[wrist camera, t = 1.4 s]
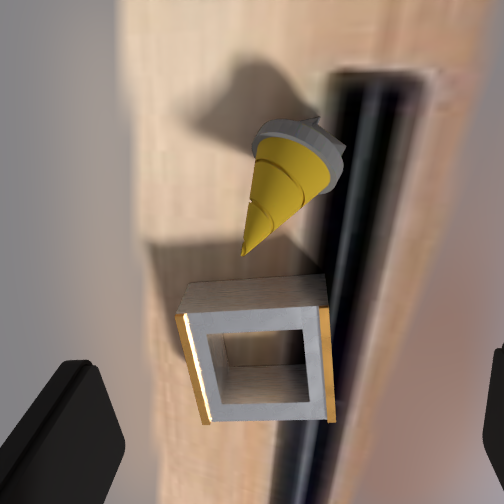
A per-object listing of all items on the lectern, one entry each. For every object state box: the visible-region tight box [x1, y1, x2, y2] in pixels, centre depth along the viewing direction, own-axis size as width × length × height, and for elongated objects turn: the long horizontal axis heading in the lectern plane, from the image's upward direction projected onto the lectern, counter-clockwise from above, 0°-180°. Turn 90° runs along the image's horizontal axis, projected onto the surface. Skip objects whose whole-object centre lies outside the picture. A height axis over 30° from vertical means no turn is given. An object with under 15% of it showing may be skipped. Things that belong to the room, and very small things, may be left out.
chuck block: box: [175, 274, 336, 425], centre depth 31 cm, size 10×10×4 cm
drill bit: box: [241, 117, 346, 256], centre depth 24 cm, size 5×5×10 cm
